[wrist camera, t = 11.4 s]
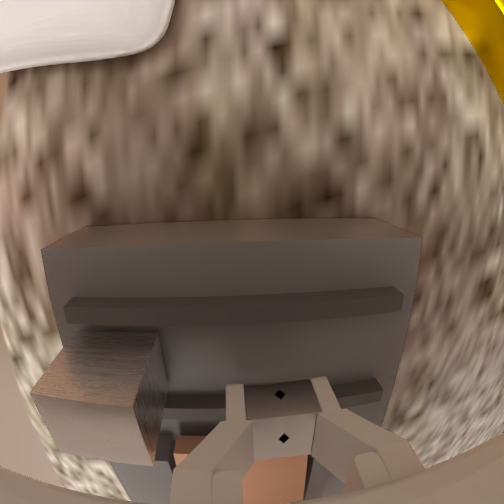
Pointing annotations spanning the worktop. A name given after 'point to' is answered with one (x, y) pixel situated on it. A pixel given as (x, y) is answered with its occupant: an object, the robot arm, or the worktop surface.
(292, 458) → the rocker switch
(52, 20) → the salad plate
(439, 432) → the worktop surface
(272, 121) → the worktop surface
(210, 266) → the control panel
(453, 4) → the element tile
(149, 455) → the slider lever
